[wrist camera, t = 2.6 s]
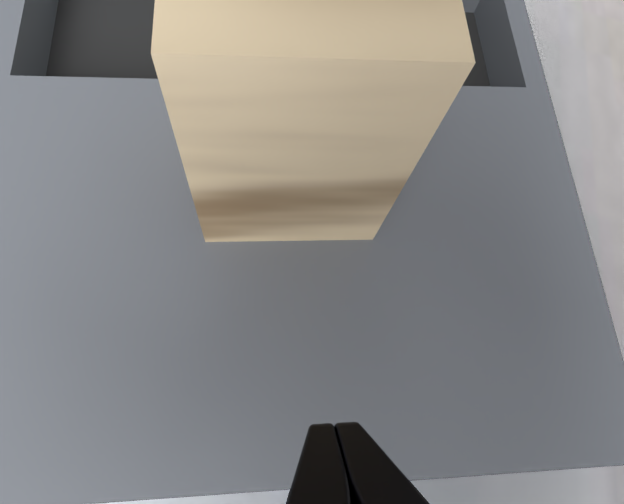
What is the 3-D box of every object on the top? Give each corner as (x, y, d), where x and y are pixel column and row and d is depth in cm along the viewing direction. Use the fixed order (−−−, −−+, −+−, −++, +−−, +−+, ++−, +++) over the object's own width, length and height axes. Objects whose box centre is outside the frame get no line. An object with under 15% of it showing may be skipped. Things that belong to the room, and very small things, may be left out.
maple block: (372, 239, 18) (475, 62, 9) (205, 242, 17) (150, 53, 8) (358, 103, 20) (430, -143, 11) (208, 100, 19) (167, -164, 11)
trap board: (592, 458, 19) (689, 466, 14) (-52, 503, 16) (-164, 529, 12) (484, 5, 26) (527, -75, 22) (43, -14, 24) (-3, -109, 20)
